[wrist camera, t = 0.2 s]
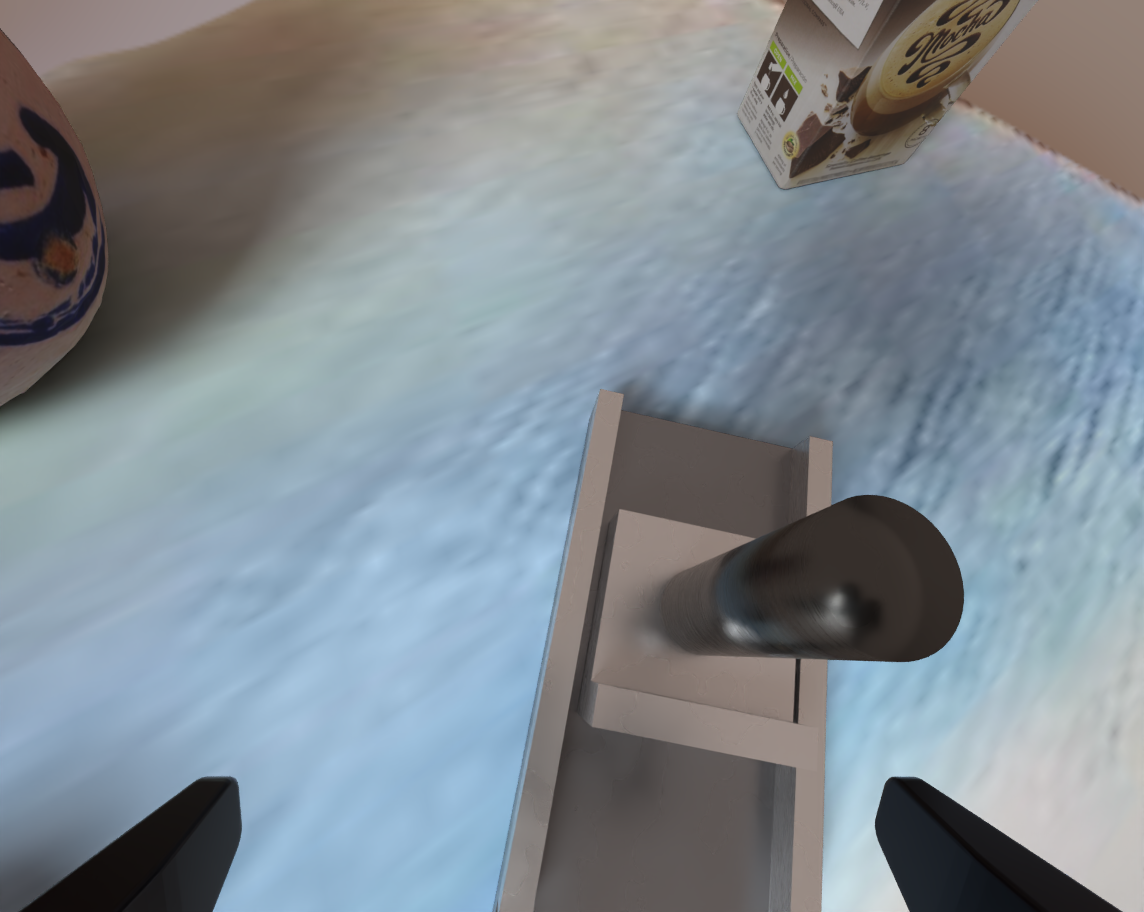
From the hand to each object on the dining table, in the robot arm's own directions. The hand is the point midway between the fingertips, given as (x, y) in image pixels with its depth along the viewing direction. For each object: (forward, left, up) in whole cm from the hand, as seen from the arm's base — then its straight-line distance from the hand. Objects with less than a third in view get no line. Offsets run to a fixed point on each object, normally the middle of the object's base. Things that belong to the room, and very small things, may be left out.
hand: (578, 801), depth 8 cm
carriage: (0, -6, -13) cm, 14 cm away
